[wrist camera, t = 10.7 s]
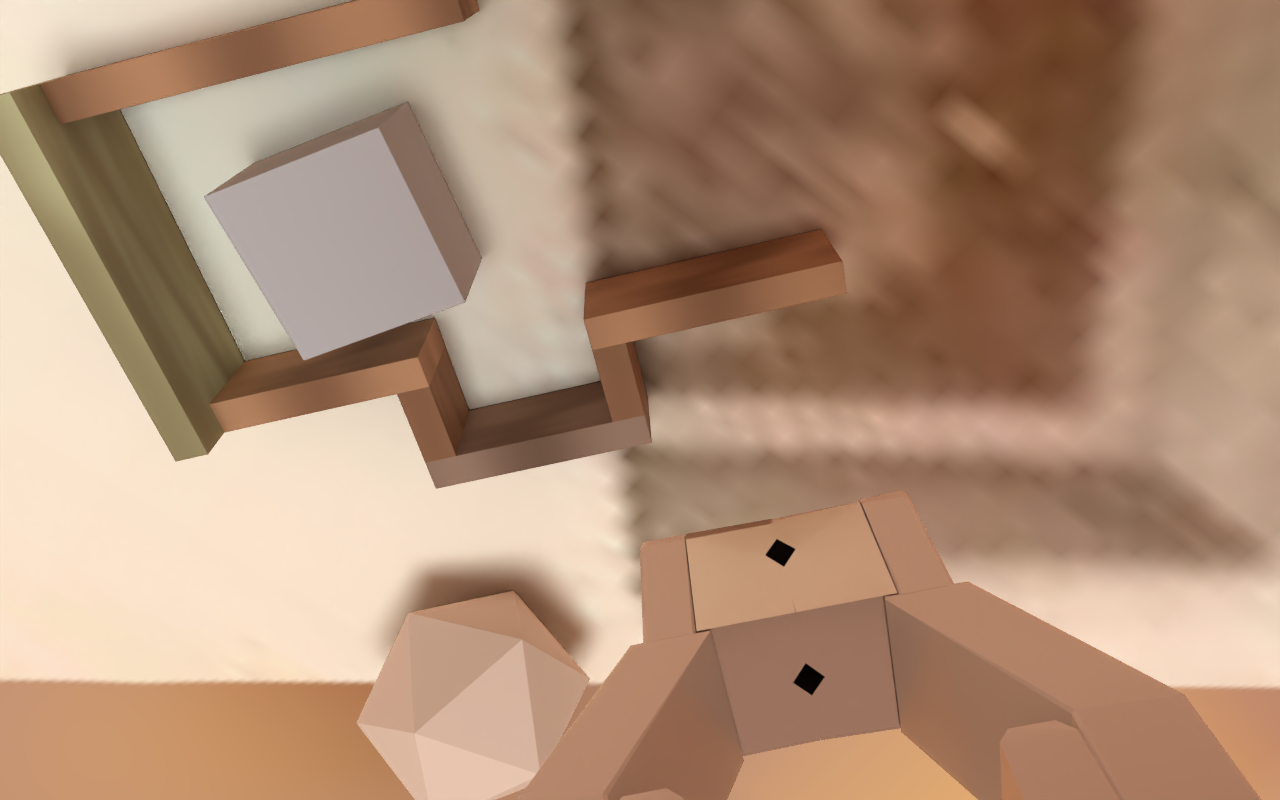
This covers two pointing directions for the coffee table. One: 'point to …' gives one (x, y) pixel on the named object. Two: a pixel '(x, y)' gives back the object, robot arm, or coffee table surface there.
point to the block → (350, 232)
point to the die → (471, 699)
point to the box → (372, 367)
